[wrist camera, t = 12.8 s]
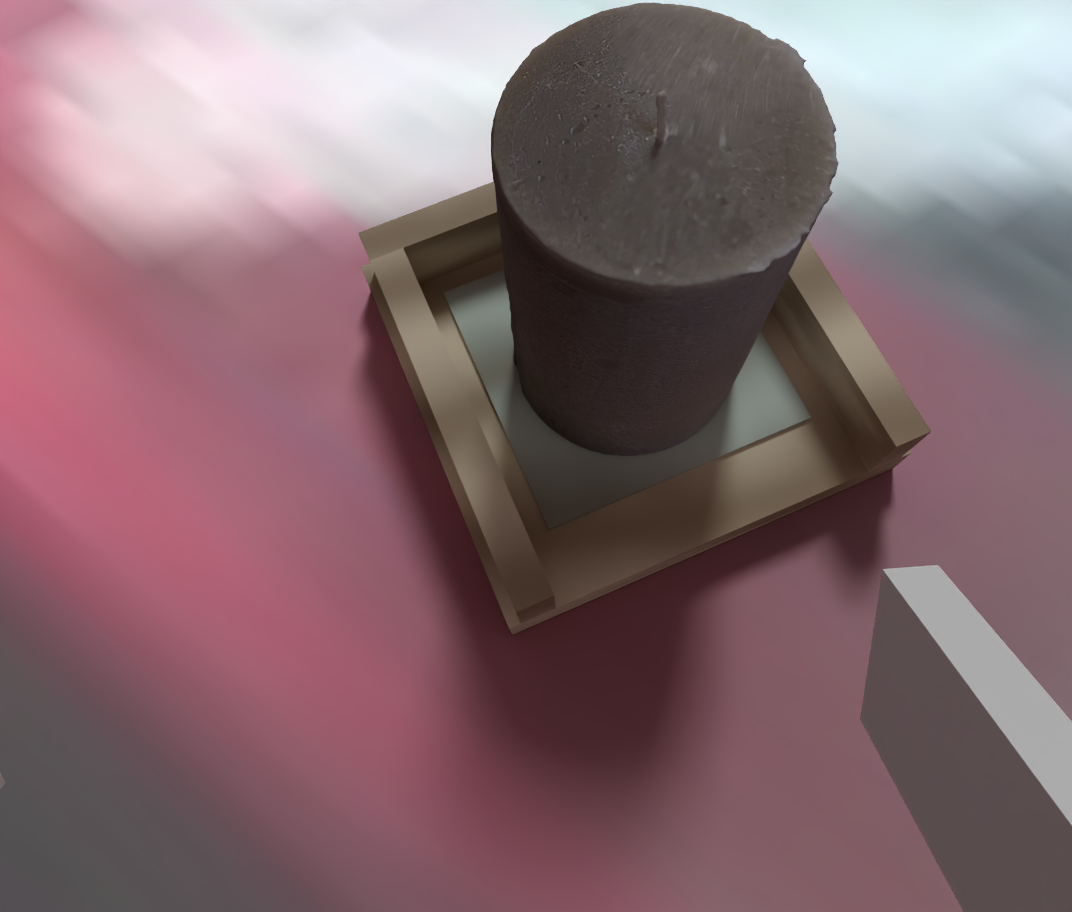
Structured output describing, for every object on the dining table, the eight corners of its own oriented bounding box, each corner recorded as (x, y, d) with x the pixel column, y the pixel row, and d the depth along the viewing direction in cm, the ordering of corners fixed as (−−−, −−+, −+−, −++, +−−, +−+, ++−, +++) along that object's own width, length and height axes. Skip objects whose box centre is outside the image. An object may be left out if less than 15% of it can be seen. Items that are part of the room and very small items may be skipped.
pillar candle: (468, 353, 35) (404, 103, 21) (623, 217, 37) (659, -95, 23) (630, 506, 33) (680, 339, 19) (786, 351, 35) (938, 95, 21)
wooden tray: (371, 289, 39) (343, 228, 34) (703, 160, 41) (721, 85, 36) (512, 634, 33) (502, 617, 29) (892, 468, 35) (943, 426, 30)
